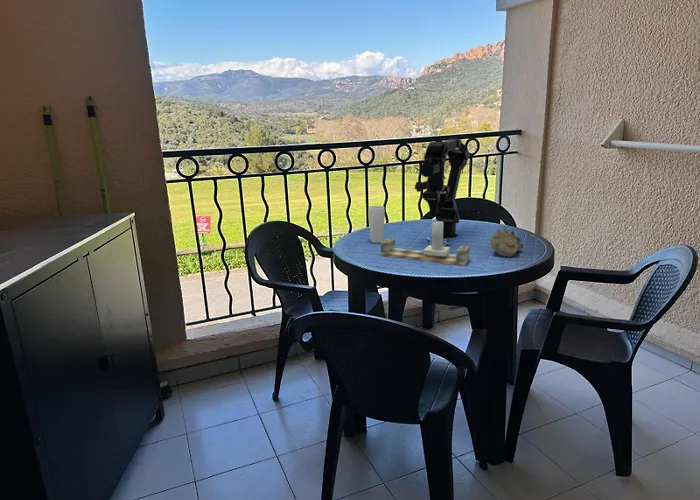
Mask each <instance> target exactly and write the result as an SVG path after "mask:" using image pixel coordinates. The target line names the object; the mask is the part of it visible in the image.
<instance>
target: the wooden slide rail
mask: <svg viewBox="0 0 700 500" xmlns="http://www.w3.org/2000/svg"><path fill="white" fill-rule="evenodd" d="M395 242H396V239H395V238H392V237H391V238H390V237H387V238H385V239H383V241H382V242H381V243H380V254H379V255H380V257H387V258H394V259H395V258H397V259H405V260H413V261H419V262H420V261H421V262H428V263H438V264H444V265H445V264H446V265H454V266H461V267H465V265H466V264H467V263H468V262H469V260H470V248H471V247H470V245H460V246H459V248H458V249H456V254H454V253H448V254H447V255H446V256H436V255H427V254H424V250H417V249H407V248H397V247H396V245H395V244H396V243H395Z"/></svg>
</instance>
